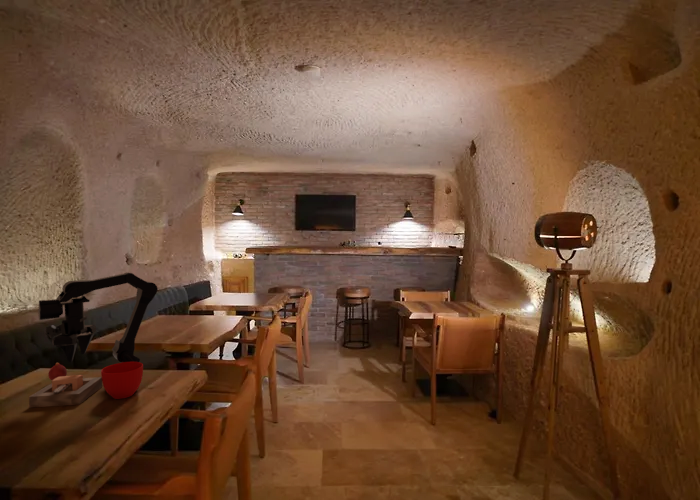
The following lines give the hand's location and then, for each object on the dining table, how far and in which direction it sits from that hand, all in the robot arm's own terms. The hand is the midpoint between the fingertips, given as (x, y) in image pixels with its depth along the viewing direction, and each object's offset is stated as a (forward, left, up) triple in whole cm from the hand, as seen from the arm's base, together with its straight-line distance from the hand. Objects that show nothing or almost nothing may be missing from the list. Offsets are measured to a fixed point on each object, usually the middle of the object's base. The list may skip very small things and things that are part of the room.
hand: (76, 357), depth 146 cm
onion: (+12, -10, -12) cm, 20 cm away
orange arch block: (+1, +5, -11) cm, 12 cm away
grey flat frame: (+1, +5, -12) cm, 13 cm away
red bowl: (-19, +5, -13) cm, 23 cm away
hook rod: (+1, +5, -9) cm, 10 cm away
